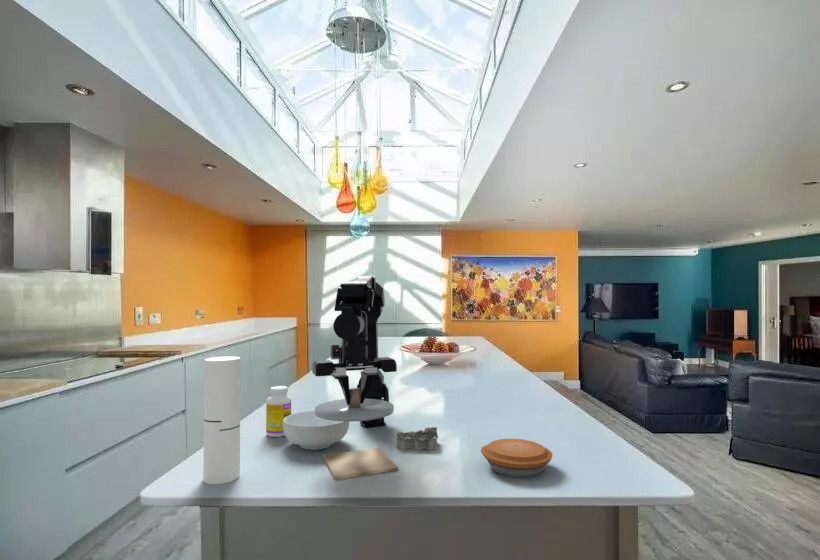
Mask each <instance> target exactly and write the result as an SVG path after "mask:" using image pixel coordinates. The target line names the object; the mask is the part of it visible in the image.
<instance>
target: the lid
mask: <svg viewBox="0 0 820 560" xmlns="http://www.w3.org/2000/svg"><path fill="white" fill-rule="evenodd" d="M349 392H350V403H349V405H347V403H346V400H345V398H343V399H342V398H341V399H335V400H330V401H325V402H322V403H319V404H318V405H316V406H315V408H314V411H315V415H316V416H317V417H319V418H322V419H326V420H332V421H347V422H348V421H349V422H360V421H367V420H374V419H379V418H383V417H384V418H386V417H388V416H391V415H392V414H393V413H394V412H395V411H394V410H395V406H394V404H393V403H392V402H390V401H389V402H387V401H383V400H377V399H365V400H364V402H363V404H361V389H360V388H357V387H350V388H349Z"/></svg>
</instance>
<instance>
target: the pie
mask: <svg viewBox="0 0 820 560" xmlns="http://www.w3.org/2000/svg"><path fill="white" fill-rule="evenodd" d="M480 453H481V454H482V455H483V457H484V458H485V460H486V461H487V462H488V464H489V466H490V467H491V469H492V470H493V471H495V472H496V473H498V474H501V475H503V476H506V477H512V478H533V477H536V476H538V475H541V474H542V473H543V472H544V470H545V468H546V466H547V465H548V464H549V463H550V462H551V460H552V458H553V452H552V451H551V450H550V449H549V448H547V447H544V445H542V444H540V443H539V442H535V441H533V440H532V441H531V440H527V439H520V438H501V439H500V438H499V439H495V440H493V441H491V442H490V443H489V442H488V443H487V444H485V445H484V446H481V449H480Z"/></svg>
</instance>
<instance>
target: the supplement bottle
mask: <svg viewBox="0 0 820 560" xmlns="http://www.w3.org/2000/svg"><path fill="white" fill-rule="evenodd" d="M269 389H270V390H269V393H270V396H268V398H267V399H266V411H265V412H266V414H265V415H266V417H265V418H266V419H265V421H266V424H265V429H266V430H265V432H266V433H265V434H266V435H267V437H270V438H271V437H272V438H282V436H283V437H286V436H285V434H284V431H283V419H284V418H285V417H287V416H289V415H292V398H291V396H289V395H288V391H289V390H288V389H289V387H288V386H286V385H276V386H271V387H270V388H269Z"/></svg>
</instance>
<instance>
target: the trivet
mask: <svg viewBox="0 0 820 560" xmlns="http://www.w3.org/2000/svg"><path fill="white" fill-rule="evenodd" d="M322 460H323V461H324V463H325V465H326V466H327V468H328V470H329V472H330V474H331V476H332V477H333V479H334V480H342V479H348V478H354V477H360V476H361V477H363V476H369V475H375V474H383V473H389V472H397V471H399V466H398V465H397V464H396V463H395V462H394V461H393V460H392V459H391V458H390V456H388V454H386V453H385V452H384V451H383V449H381V448H380V447H376V448H367V449H359V450H351V451H343V452H337V453H329V454H323V455H322Z"/></svg>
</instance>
